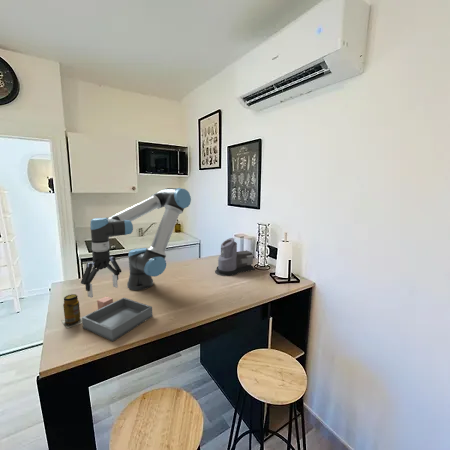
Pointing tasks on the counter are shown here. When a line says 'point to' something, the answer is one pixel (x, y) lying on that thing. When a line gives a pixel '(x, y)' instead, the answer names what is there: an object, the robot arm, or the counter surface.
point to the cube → (104, 302)
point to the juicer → (233, 259)
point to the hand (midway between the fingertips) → (103, 291)
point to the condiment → (71, 311)
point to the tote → (117, 318)
